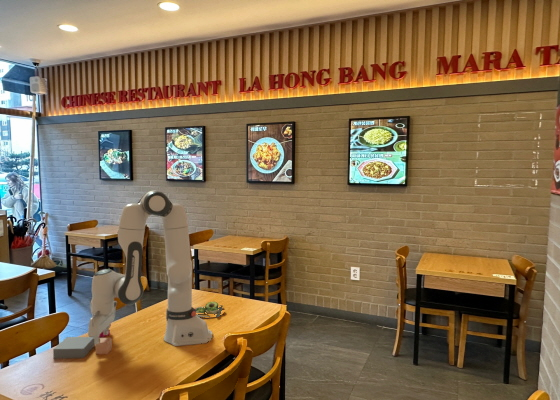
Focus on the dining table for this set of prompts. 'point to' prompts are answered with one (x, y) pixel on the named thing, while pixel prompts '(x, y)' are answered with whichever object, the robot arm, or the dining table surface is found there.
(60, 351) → the grey square slab
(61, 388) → the dining table surface
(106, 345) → the terracotta block
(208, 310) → the salad plate
